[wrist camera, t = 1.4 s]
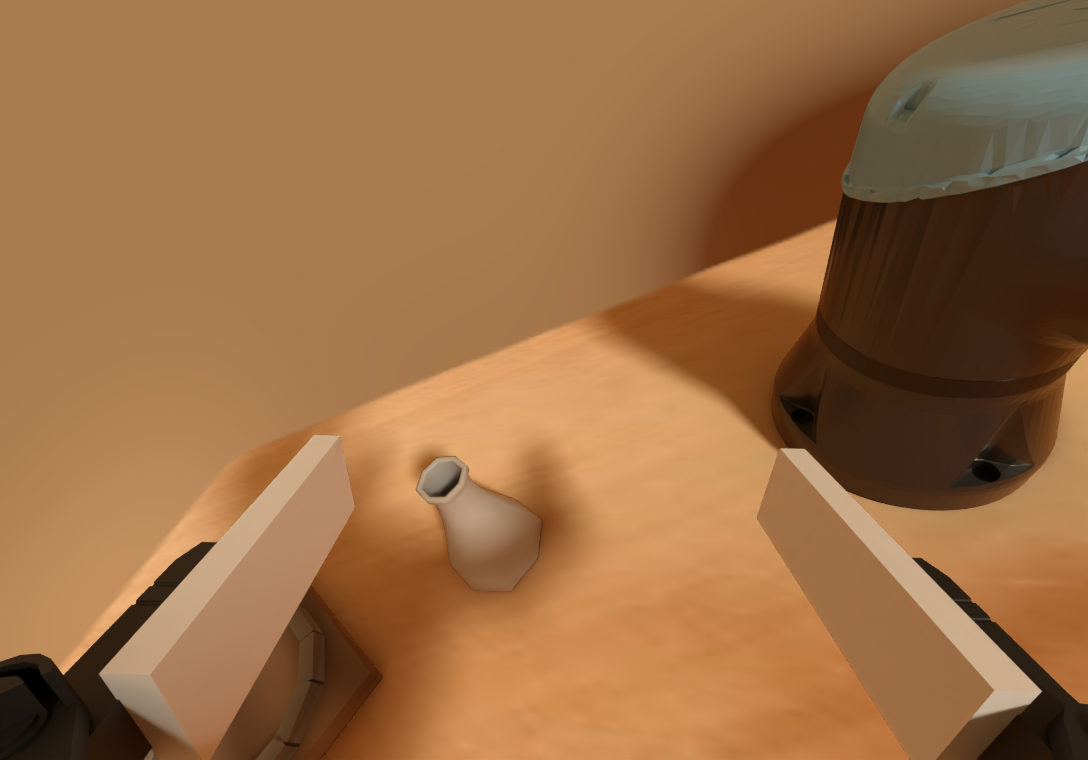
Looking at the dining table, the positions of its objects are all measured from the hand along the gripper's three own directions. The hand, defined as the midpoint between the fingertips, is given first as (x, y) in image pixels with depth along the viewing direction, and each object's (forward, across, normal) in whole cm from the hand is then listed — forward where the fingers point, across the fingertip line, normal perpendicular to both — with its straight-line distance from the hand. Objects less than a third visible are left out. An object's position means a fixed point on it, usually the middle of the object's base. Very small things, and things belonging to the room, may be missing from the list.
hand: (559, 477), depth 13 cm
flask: (+13, -3, -17) cm, 22 cm away
